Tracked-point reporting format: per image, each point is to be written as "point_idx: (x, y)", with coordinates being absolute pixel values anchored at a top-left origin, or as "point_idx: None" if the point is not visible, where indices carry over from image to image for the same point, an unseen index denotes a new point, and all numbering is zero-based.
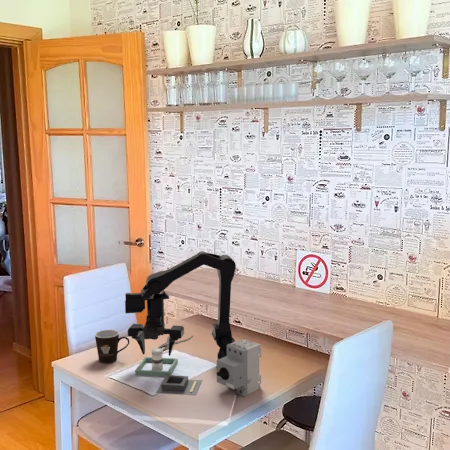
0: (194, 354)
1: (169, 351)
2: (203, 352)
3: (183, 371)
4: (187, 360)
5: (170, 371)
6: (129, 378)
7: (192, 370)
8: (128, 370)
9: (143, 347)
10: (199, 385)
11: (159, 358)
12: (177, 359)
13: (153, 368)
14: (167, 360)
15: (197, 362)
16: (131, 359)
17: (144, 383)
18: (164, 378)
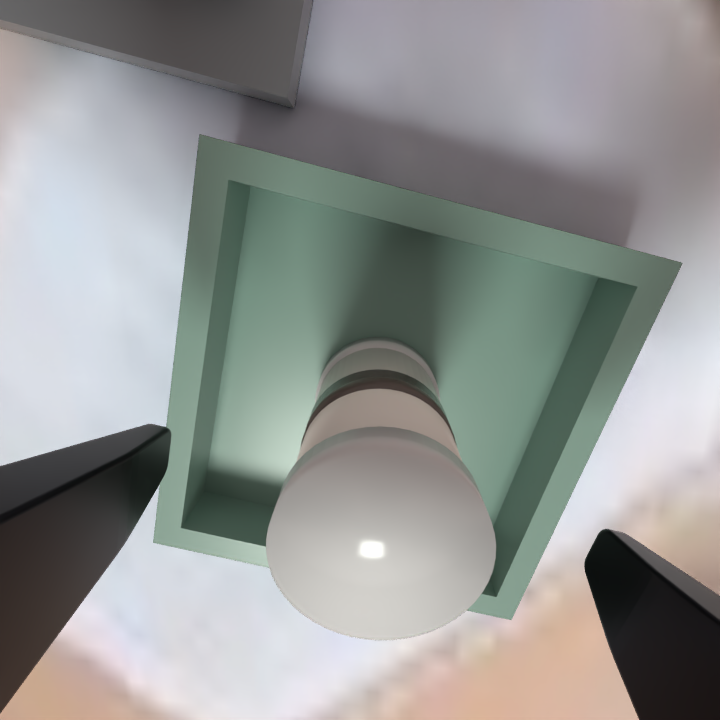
0: (73, 670)
1: (97, 453)
2: None
3: (110, 351)
4: (112, 576)
5: (197, 190)
6: (692, 236)
7: (22, 364)
8: (667, 438)
9: (698, 653)
10: None
11: (340, 407)
12: (157, 531)
13: (423, 368)
14: None
15: None
16: (603, 647)
17: (535, 60)
18: (284, 86)
